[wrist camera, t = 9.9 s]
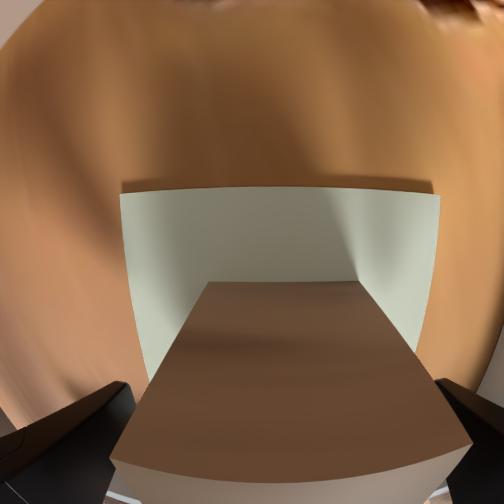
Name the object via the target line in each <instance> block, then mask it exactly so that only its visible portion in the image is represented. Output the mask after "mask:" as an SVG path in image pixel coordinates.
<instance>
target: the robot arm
mask: <svg viewBox="0 0 504 504" xmlns="http://www.w3.org/2000/svg"><path fill="white" fill-rule="evenodd" d="M434 382H435V383H436V385H437V386H438V388H439V389H440V391H441V392H442V394H443V395H444V397H445V398H446V400H447V402H448V403H449V405H450V406H451V408H452V409H453V411H454V412H455V414H456V416H457V417H458V419H459V420H460V422H461V424H462V425H463V427H464V429H465V430H466V432H467V433H468V435H469V437H470V439H471V440H472V442H473V444H472V446H471V447H470V448H469V450H468V451H467V452H466V454H465V455H464V457H463V458H462V459H461V460H460V462H459V463H458V464H457V466H456V467H455V468H454V469H453V471H452V472H451V473H450V474H449V475H448V477H447V478H446V482H447V485H448V489H449V492H450V496H451V500H452V503H453V504H504V408H503V407H501V406H499V405H497V404H495V403H493V402H491V401H489V400H487V399H485V398H483V397H481V396H480V395H478V394H476V393H474V392H472V391H470V390H468V389H466V388H464V387H462V386H460V385H458V384H456V383H455V382H453V381H451V380H449V379H447V378H441V379H437V380H434ZM135 409H136V403H135V399H134V396H133V393H132V390H131V387H130V385H129V384H128V383H126V382H121V381H114V382H112V383H110V384H108V385H107V386H105V387H103V388H101V389H99V390H97V391H95V392H93V393H92V394H90V395H88V396H86V397H84V398H82V399H80V400H78V401H76V402H74V403H72V404H70V405H68V406H66V407H64V408H63V409H61V410H59V411H57V412H55V413H53V414H50V415H48V416H46V417H44V418H42V419H40V420H38V421H36V422H34V423H32V424H30V425H28V426H27V427H23V428H21V429H19V430H17V431H15V432H12V433H10V434H8V435H5V436H3V437H0V504H103V501H104V499H105V496H106V493H107V491H108V488H109V486H110V483H111V481H112V478H113V475H114V473H115V470H116V468H115V466H114V465H113V463H112V461H111V460H110V458H109V457H110V455H111V453H112V451H113V449H114V447H115V446H116V444H117V442H118V440H119V438H120V436H121V434H122V433H123V431H124V429H125V427H126V425H127V423H128V421H129V420H130V418H131V416H132V414H133V412H134V411H135Z"/></svg>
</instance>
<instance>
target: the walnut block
mask: <svg viewBox="0 0 504 504" xmlns="http://www.w3.org/2000/svg"><path fill="white" fill-rule="evenodd" d="M472 444H473V442H472V440H471V439H470V437H469V435H468V433H467V432H466V430H465V429H464V427H463V425H462V424H461V422H460V420H459V419H458V417H457V416H456V414H455V412H454V411H453V409H452V408H451V406H450V405H449V403H448V402H447V400H446V398H445V397H444V395H443V394H442V392H441V391H440V389H439V388H438V386H437V385H436V383H435V382H434V380H433V379H432V378H431V376H430V375H429V373H428V372H427V370H426V369H425V367H424V366H423V365H422V363H421V362H420V360H419V359H418V358H417V356H416V355H415V353H414V352H413V351H412V349H411V348H410V346H409V345H408V344H407V342H406V341H405V340H404V338H403V337H402V336H401V334H400V333H399V331H398V330H397V329H396V327H395V326H394V325H393V324H392V322H391V321H390V320H389V318H388V317H387V316H386V314H385V313H384V312H383V310H382V309H381V308H380V307H379V305H378V304H377V303H376V301H375V300H374V299H373V298H372V296H371V295H370V294H369V293H368V291H367V290H366V289H365V288H364V286H363V285H362V284H361V283H360V281H325V282H208V283H207V285H206V287H205V288H204V290H203V292H202V293H201V295H200V297H199V298H198V300H197V302H196V303H195V305H194V307H193V309H192V310H191V312H190V314H189V315H188V317H187V319H186V321H185V322H184V324H183V326H182V327H181V329H180V331H179V333H178V334H177V336H176V338H175V340H174V341H173V343H172V345H171V347H170V348H169V350H168V352H167V354H166V355H165V357H164V359H163V361H162V362H161V364H160V366H159V368H158V369H157V371H156V373H155V375H154V376H153V378H152V380H151V382H150V384H149V385H148V387H147V389H146V391H145V392H144V394H143V396H142V398H141V400H140V401H139V403H138V405H137V407H136V409H135V411H134V412H133V414H132V416H131V418H130V420H129V421H128V423H127V425H126V427H125V429H124V431H123V433H122V434H121V436H120V438H119V440H118V442H117V444H116V446H115V447H114V449H113V451H112V453H111V455H110V457H109V458H110V460H111V461H112V463H113V465H114V466H115V468H116V469H117V471H118V472H119V474H120V475H121V476H122V478H123V479H124V481H125V482H126V484H127V485H128V486H129V488H130V489H131V490H132V492H133V493H134V494H135V496H136V497H137V498H138V500H139V501H140V502H141V503H142V504H423V503H424V502H425V501H426V500H427V499H428V498H429V497H430V496H431V495H432V494H433V493H434V491H435V490H436V489H437V488H438V487H439V486H440V485H441V484H442V482H443V481H444V480H445V479H446V478H447V477H448V475H449V474H450V473H451V472H452V471H453V469H454V468H455V467H456V466H457V464H458V463H459V462H460V460H461V459H462V458H463V457H464V455H465V454H466V452H467V451H468V450H469V448H470V447H471V446H472Z"/></svg>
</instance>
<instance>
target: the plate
mask: <svg viewBox="0 0 504 504" xmlns="http://www.w3.org/2000/svg"><path fill="white" fill-rule="evenodd" d="M120 209H121V222H122V233H123V243H124V252H125V260H126V267H127V274H128V281H129V288H130V294H131V300H132V305H133V311H134V316H135V321H136V326H137V331H138V336H139V341H140V345H141V349H142V354H143V358H144V362H145V366H146V370H147V374H148V377H149V381H150V382H151V380H152V378H153V376H154V375H155V373H156V371H157V369H158V368H159V366H160V364H161V362H162V361H163V359H164V357H165V355H166V354H167V352H168V350H169V348H170V347H171V345H172V343H173V341H174V340H175V338H176V336H177V334H178V333H179V331H180V329H181V327H182V326H183V324H184V322H185V321H186V319H187V317H188V315H189V314H190V312H191V310H192V309H193V307H194V305H195V303H196V302H197V300H198V298H199V297H200V295H201V293H202V292H203V290H204V288H205V287H206V285H207V283H208V282H325V281H360V283H361V284H362V285H363V286H364V288H365V289H366V290H367V291H368V293H369V294H370V295H371V296H372V298H373V299H374V300H375V301H376V303H377V304H378V305H379V307H380V308H381V309H382V310H383V312H384V313H385V314H386V316H387V317H388V318H389V320H390V321H391V322H392V324H393V325H394V326H395V327H396V329H397V330H398V331H399V333H400V334H401V336H402V337H403V338H404V340H405V341H406V342H407V344H408V345H409V346H410V348H411V349H412V351H413V352H414V353H415V351H416V347H417V344H418V340H419V336H420V333H421V329H422V325H423V320H424V316H425V312H426V307H427V302H428V297H429V292H430V287H431V281H432V275H433V269H434V262H435V255H436V247H437V238H438V227H439V214H440V195H436V194H427V193H416V192H404V191H391V190H376V189H357V188H333V187H220V188H195V189H176V190H161V191H147V192H134V193H124V194H120Z"/></svg>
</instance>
